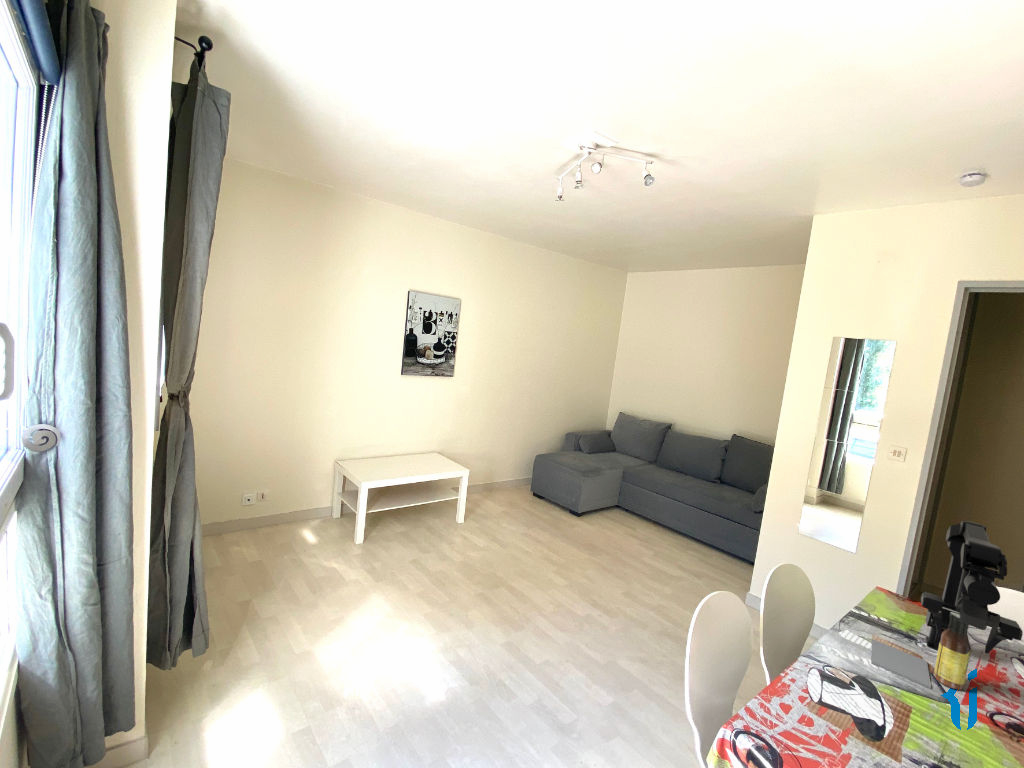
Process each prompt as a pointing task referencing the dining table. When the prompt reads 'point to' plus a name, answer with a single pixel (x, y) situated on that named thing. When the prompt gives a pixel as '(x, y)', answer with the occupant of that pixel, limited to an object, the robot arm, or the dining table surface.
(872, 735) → the dining table surface
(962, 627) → the sauce bottle
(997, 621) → the robot arm
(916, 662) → the rubber mat
